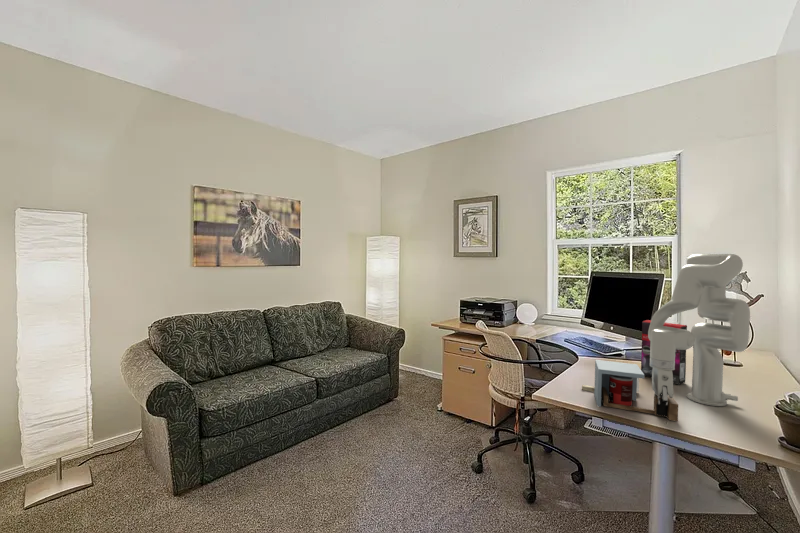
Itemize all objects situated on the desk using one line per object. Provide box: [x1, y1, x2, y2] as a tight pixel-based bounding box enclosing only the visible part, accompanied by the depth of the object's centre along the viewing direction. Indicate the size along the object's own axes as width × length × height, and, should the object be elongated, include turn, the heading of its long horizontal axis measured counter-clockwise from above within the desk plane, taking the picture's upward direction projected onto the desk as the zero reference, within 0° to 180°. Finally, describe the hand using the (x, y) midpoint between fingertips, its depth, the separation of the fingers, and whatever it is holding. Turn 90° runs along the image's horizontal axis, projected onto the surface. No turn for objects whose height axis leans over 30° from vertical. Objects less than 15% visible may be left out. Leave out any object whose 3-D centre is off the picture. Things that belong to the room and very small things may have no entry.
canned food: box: [608, 375, 633, 406], centre depth 147 cm, size 8×8×11 cm
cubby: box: [593, 359, 645, 408], centre depth 147 cm, size 15×15×14 cm
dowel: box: [581, 384, 595, 393], centre depth 160 cm, size 12×2×2 cm, turn 59°
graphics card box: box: [640, 319, 688, 385], centre depth 178 cm, size 17×7×27 cm, turn 32°
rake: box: [601, 387, 679, 422], centre depth 142 cm, size 23×15×6 cm, turn 66°
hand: (660, 412), depth 137 cm, fingers closed on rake, 3 cm apart
